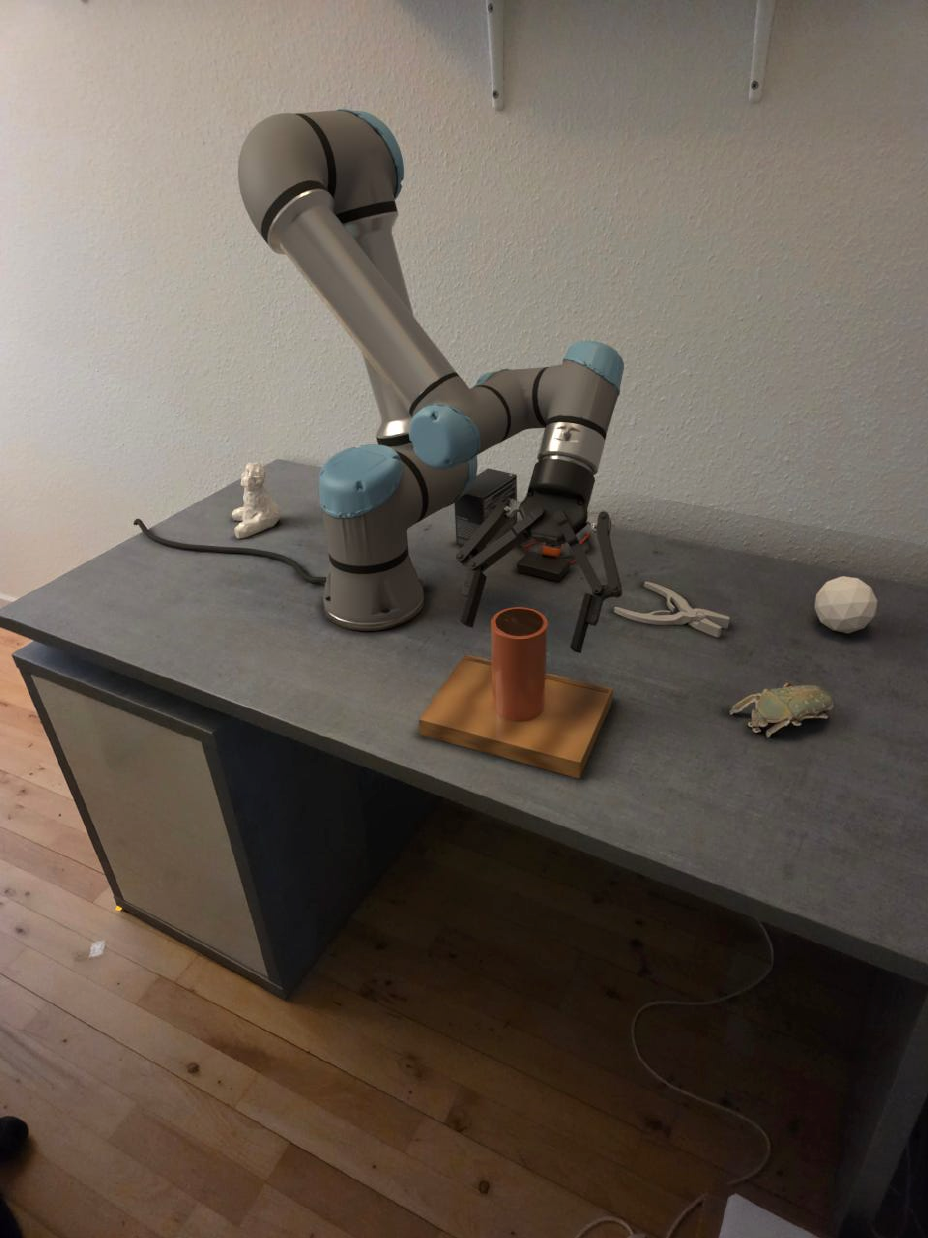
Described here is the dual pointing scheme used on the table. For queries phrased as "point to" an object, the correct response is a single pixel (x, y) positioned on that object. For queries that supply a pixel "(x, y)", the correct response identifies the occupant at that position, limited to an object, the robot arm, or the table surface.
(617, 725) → the table surface
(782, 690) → the decorative insect model
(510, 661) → the pen cup
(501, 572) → the table surface
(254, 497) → the sitting furry creature
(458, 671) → the oak board
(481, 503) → the small box
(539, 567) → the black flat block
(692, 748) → the table surface
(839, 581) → the geometric ball
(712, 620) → the pliers
